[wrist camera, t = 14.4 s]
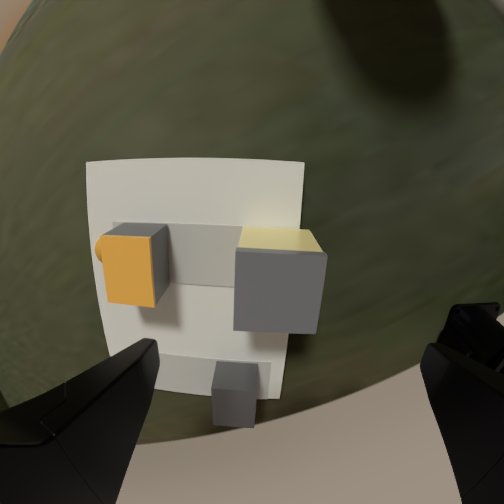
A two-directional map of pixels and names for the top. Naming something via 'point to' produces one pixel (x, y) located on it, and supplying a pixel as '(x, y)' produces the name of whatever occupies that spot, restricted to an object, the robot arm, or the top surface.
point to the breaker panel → (194, 259)
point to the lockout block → (278, 281)
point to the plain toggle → (234, 394)
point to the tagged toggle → (135, 263)
